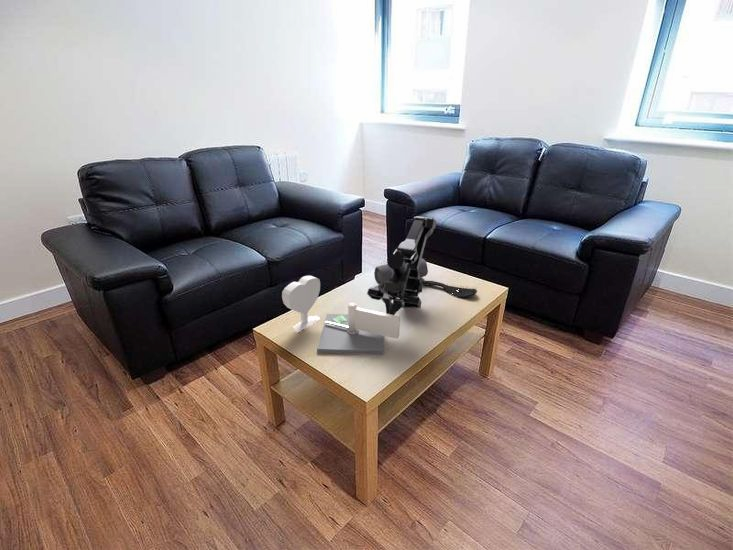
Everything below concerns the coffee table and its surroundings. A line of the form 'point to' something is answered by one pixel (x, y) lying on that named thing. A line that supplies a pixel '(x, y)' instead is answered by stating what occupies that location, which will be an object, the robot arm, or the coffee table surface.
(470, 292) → the hairbrush
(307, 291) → the heart sculpture
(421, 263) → the bluetooth speaker
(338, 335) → the grey flat panel
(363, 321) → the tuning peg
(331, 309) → the coffee table surface
